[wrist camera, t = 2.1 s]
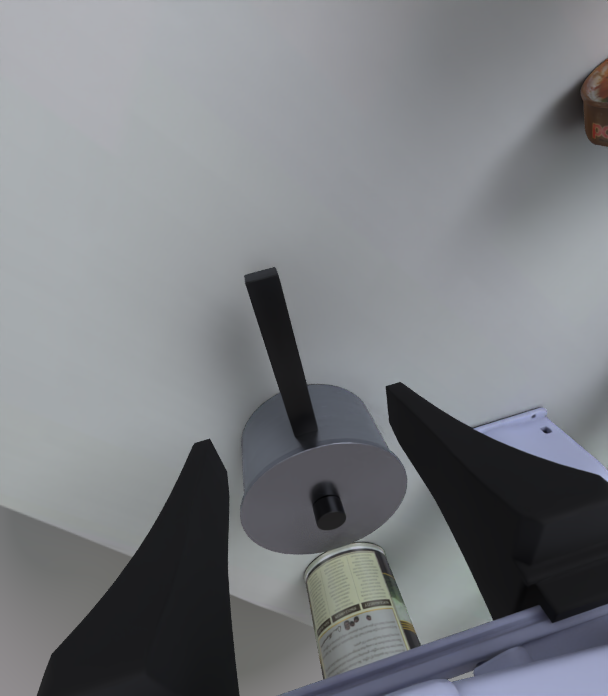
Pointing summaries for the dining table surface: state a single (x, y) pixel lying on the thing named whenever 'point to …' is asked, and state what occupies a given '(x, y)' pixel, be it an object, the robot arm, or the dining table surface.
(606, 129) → the tin
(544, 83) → the dining table surface
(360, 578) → the coffee can
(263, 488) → the saucepan
